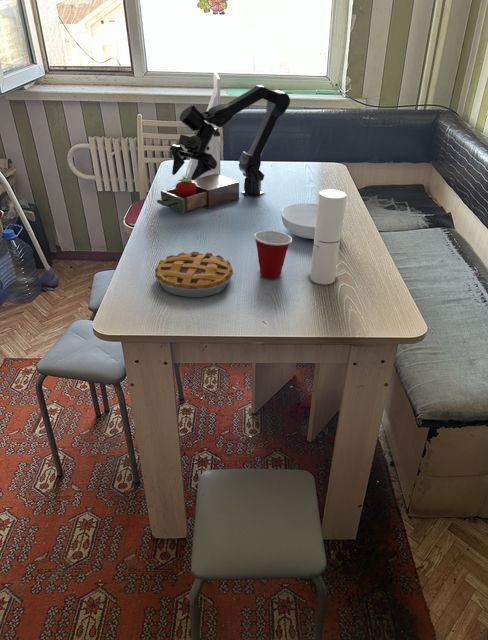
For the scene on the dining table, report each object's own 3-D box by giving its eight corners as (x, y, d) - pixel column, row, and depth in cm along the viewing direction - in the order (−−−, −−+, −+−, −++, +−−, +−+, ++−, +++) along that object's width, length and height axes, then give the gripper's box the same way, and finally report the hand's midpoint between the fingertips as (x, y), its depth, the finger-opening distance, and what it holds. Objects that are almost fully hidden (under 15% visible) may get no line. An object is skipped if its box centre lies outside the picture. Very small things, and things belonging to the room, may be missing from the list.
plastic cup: (297, 275, 154) (300, 236, 148) (272, 286, 148) (274, 247, 141) (269, 262, 160) (271, 225, 153) (244, 273, 154) (245, 234, 147)
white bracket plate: (183, 172, 230) (179, 69, 207) (216, 172, 232) (216, 70, 209) (185, 187, 214) (180, 77, 191) (220, 187, 216) (220, 78, 193)
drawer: (173, 216, 186) (173, 202, 183) (152, 207, 192) (151, 193, 189) (214, 203, 198) (214, 190, 195) (192, 195, 204) (192, 182, 201)
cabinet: (208, 208, 196) (208, 190, 192) (185, 199, 203) (184, 181, 199) (238, 198, 206) (239, 181, 202) (215, 190, 213) (215, 173, 209)
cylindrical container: (327, 286, 149) (339, 200, 135) (305, 279, 152) (314, 194, 138) (338, 277, 154) (350, 193, 140) (317, 270, 157) (326, 187, 143)
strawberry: (176, 199, 197) (175, 172, 191) (197, 199, 198) (196, 172, 192) (175, 204, 192) (174, 177, 187) (196, 205, 193) (195, 177, 187)
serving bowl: (267, 232, 180) (268, 212, 176) (305, 217, 193) (307, 199, 189) (315, 251, 168) (317, 231, 164) (352, 234, 181) (355, 215, 177)
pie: (163, 262, 157) (162, 246, 155) (236, 266, 157) (236, 250, 155) (147, 298, 140) (146, 281, 137) (230, 302, 140) (230, 285, 137)
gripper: (171, 120, 187) (151, 158, 186) (211, 129, 178) (190, 169, 177) (187, 140, 197) (168, 176, 196) (226, 149, 188) (206, 187, 187)
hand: (182, 177), depth 189 cm, fingers open, 9 cm apart
